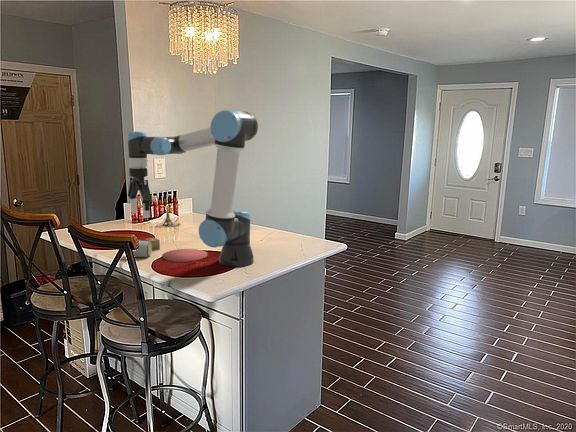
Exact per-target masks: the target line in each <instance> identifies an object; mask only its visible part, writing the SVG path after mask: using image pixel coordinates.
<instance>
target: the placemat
mask: <svg viewBox="0 0 576 432" xmlns="http://www.w3.org/2000/svg"><path fill="white" fill-rule="evenodd" d="M205 257H206V258H207V257H208V252H207V251H206V250H204V249H203V250H202V249H197V248H179V249H172V250H169V251H166V252H164V253H162V259H164V260H166V261H169V262H173V263H174V262H175V263H187V262H188V263H189V262H190V261H192V262H197V261H196V260H198V261H201V260H204V259H205ZM203 258H204V259H203ZM200 259H201V260H200ZM190 263H191V262H190Z"/></svg>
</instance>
